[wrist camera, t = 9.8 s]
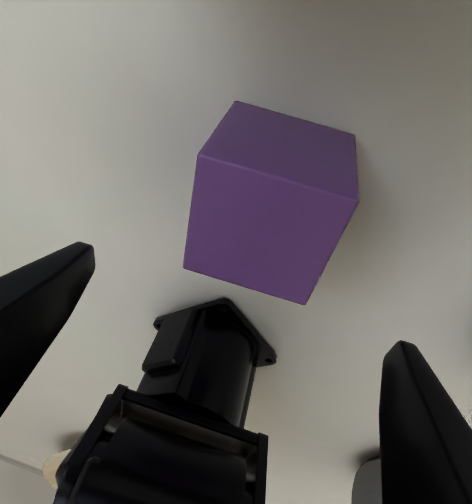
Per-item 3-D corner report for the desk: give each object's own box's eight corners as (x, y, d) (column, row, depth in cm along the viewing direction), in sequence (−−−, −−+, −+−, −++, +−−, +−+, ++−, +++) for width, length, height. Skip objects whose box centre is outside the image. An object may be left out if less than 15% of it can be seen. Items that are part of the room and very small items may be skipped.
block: (356, 134, 14) (360, 201, 10) (313, 230, 17) (305, 306, 14) (234, 99, 14) (196, 153, 11) (215, 201, 18) (181, 268, 14)
